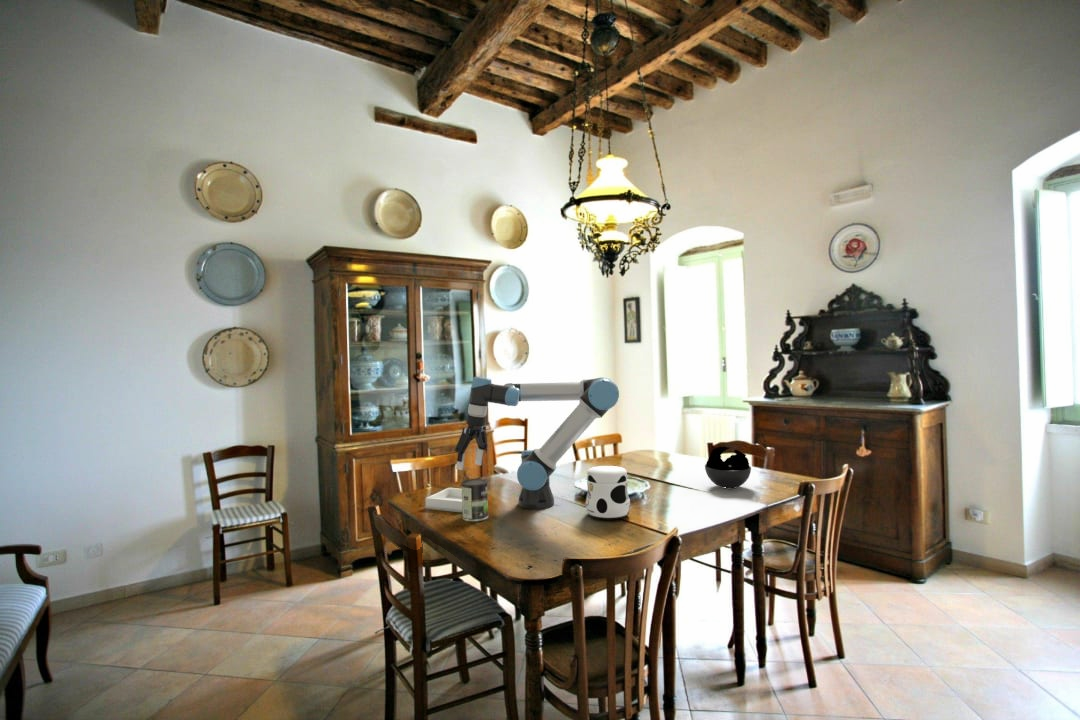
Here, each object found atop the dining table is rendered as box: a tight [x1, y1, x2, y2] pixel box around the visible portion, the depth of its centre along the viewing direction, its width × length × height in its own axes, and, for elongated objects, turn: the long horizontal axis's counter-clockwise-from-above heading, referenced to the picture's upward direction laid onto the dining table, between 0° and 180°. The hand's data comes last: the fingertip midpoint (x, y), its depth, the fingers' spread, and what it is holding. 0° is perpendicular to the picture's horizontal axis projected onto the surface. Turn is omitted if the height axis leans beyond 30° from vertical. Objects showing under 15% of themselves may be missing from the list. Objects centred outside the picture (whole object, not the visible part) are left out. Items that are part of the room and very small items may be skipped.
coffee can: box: [460, 478, 489, 522], centre depth 212 cm, size 10×10×14 cm
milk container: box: [585, 465, 631, 520], centre depth 210 cm, size 17×17×18 cm
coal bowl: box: [704, 445, 752, 489], centre depth 247 cm, size 20×20×19 cm
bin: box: [425, 487, 463, 514], centre depth 231 cm, size 18×18×4 cm
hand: (468, 467), depth 216 cm, fingers open, 13 cm apart
